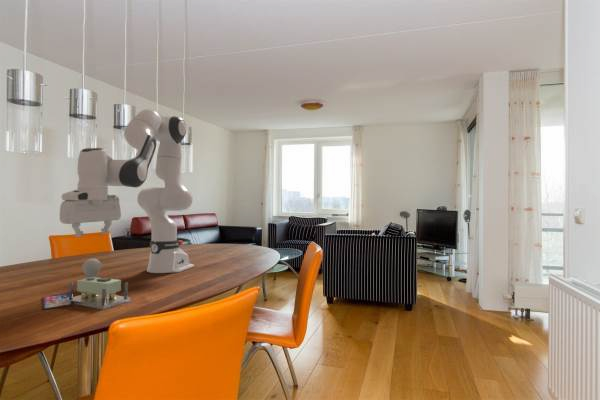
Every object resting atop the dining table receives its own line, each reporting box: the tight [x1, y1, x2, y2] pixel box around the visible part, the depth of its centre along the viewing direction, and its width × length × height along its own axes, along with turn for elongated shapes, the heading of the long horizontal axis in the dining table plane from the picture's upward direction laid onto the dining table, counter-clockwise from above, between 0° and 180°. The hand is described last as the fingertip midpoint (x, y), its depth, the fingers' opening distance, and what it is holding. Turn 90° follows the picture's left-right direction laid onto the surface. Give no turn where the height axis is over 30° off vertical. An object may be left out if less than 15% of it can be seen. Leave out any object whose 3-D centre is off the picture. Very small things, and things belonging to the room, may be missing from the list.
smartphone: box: [41, 293, 74, 311], centre depth 109 cm, size 8×1×15 cm
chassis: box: [66, 282, 132, 310], centre depth 110 cm, size 10×17×6 cm, turn 68°
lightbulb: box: [81, 258, 102, 279], centre depth 126 cm, size 6×6×11 cm
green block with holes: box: [76, 276, 122, 295], centre depth 110 cm, size 6×12×4 cm, turn 74°
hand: (92, 235), depth 116 cm, fingers open, 8 cm apart
